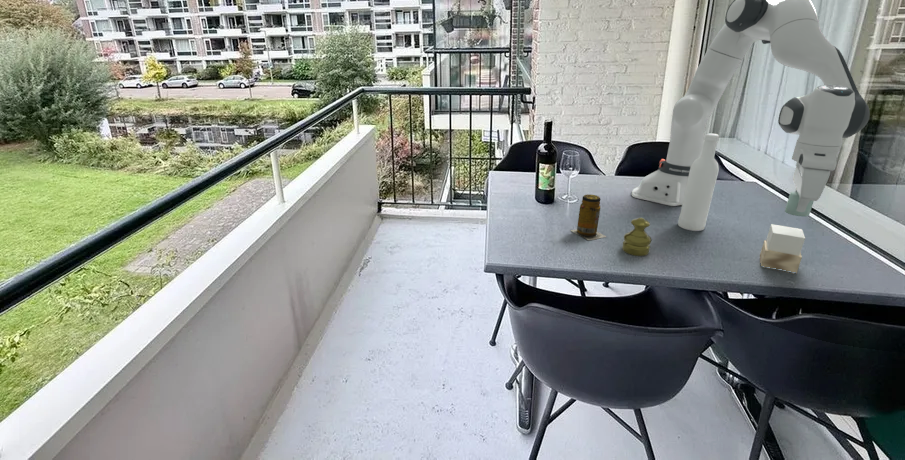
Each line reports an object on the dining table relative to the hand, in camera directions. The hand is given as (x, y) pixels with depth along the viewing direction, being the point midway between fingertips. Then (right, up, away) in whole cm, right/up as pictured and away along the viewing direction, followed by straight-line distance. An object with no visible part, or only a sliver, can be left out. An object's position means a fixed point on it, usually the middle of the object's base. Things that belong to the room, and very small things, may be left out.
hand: (798, 207), depth 118 cm
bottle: (-12, -5, +31) cm, 33 cm away
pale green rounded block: (0, -1, +1) cm, 2 cm away
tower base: (-1, -15, +7) cm, 17 cm away
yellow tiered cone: (-37, -12, +13) cm, 41 cm away
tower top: (-1, -11, +5) cm, 12 cm away
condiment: (-47, -7, +24) cm, 54 cm away
